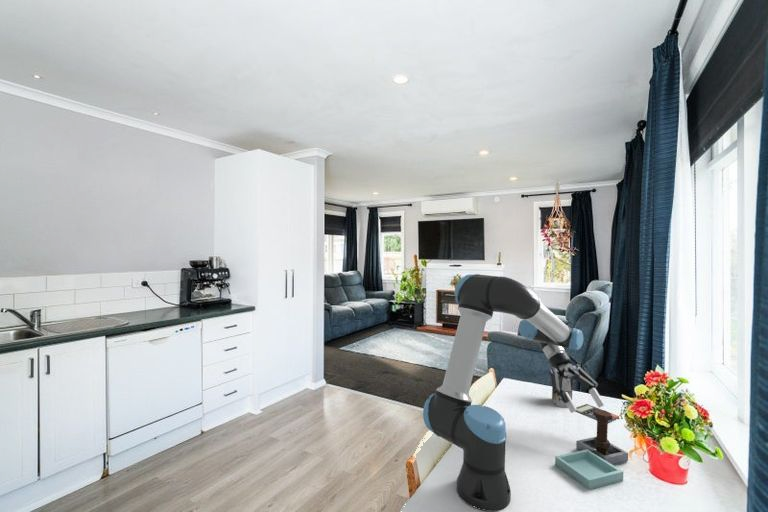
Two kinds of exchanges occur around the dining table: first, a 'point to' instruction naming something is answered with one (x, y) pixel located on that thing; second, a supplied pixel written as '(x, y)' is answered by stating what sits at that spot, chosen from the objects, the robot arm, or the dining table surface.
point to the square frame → (614, 458)
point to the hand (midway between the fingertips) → (588, 408)
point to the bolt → (602, 430)
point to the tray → (589, 469)
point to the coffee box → (568, 389)
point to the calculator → (588, 411)
